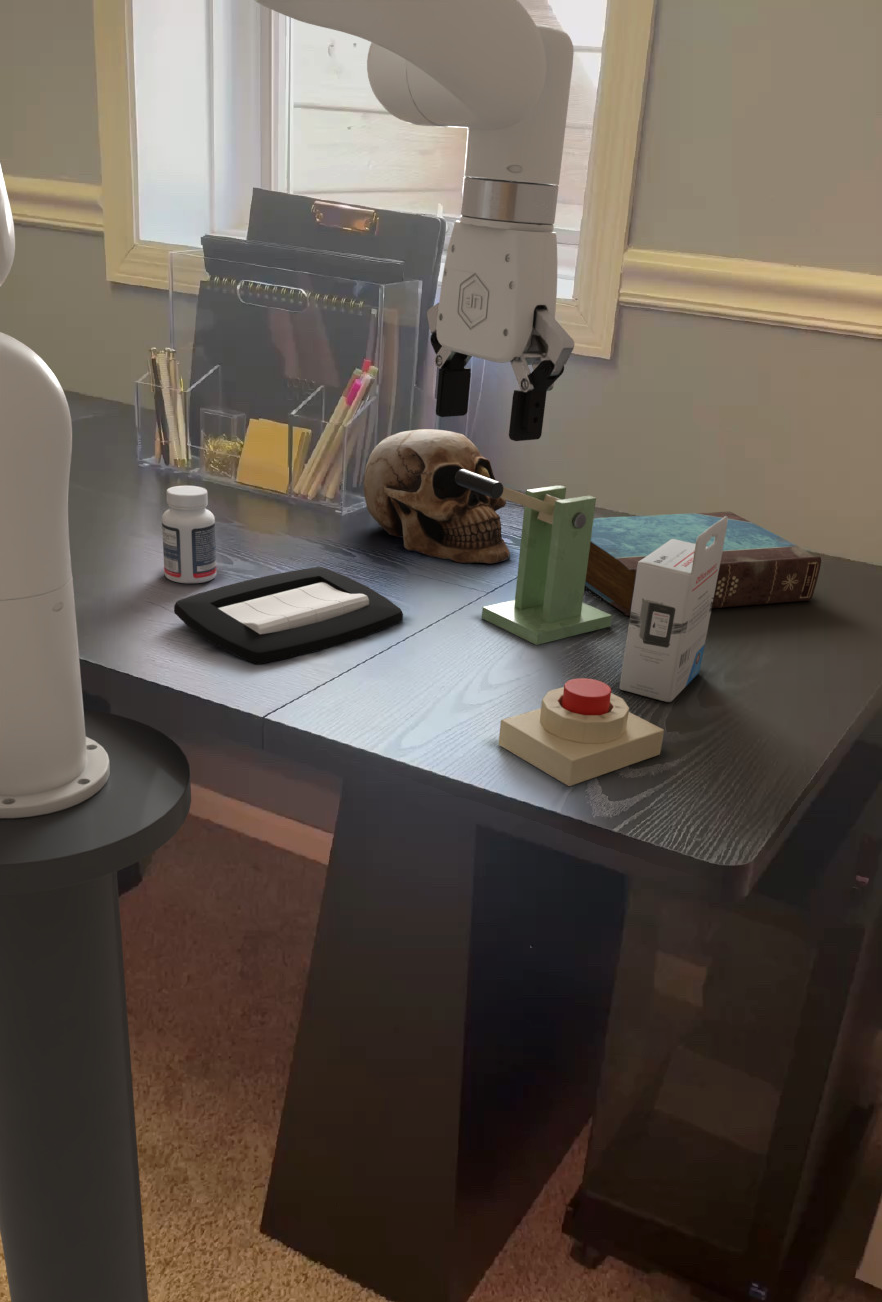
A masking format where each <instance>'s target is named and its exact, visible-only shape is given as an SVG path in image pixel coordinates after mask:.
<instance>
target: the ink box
mask: <svg viewBox="0 0 882 1302" xmlns="http://www.w3.org/2000/svg"><path fill="white" fill-rule="evenodd" d="M727 522H728V517H727V516H725V517H724V518H723V519H721V520H720V521H718V522H717V523H715V524H714V525H712V526H711V527H709V528H708V529H707V530H706V531H704V532H703V533H702V534H700V535H699V536H698V537H697V540H696V544H693V543H689V542H684V541H680V540H676V539H671V540H669V541H668V542H667V543H665V544H664V545H662V546H661V547H659V548H658V549H656V550H655V551H654V552H652V553H651V554H649V555H648V556H646V557H645V558H643V559H642V560H640V561H639V562H638V566H637V573H636V580H635V587H634V593H633V600H632V606H631V613H630V615H629V620H628V628H627V635H626V640H625V647H624V653H623V661H622V667H621V674H620V681H619V690H621V691H624V692H628V693H632V694H636V695H639V696H641V697H647V698H650V699H654V700H657V701H661V702H665V703H672V701H674V700H675V699H676V697H677V696H679V694H681V692H682V691H683V690H684V689H685V688H686V687H687V686H688V685H689V684H690V683H691V682H692V681H693V679H695V678H696V676H698V674H699V673H700V671H701V667H702V666H701V665H702V660H703V656H704V651H705V645H706V641H707V635H708V630H709V624H710V618H711V614H712V609H713V608H712V603H713V598H714V593H715V588H716V583H717V577H718V572H719V567H720V562H721V557H722V550H723V545H724V540H725V535H726V529H727ZM711 536H712V537H715V540H714V542H713V544H712V545H710V546H709V547H706V544H707V542H708V541H710V539H711ZM711 608H712V609H711Z"/></svg>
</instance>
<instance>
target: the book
mask: <svg viewBox="0 0 882 1302" xmlns="http://www.w3.org/2000/svg"><path fill="white" fill-rule="evenodd" d="M725 516H727V517H728V522H727V529H726V535H725V540H724V545H723V550H722V557H721V562H720V567H719V572H718V577H717V583H716V588H715V593H714V598H713V603H712V608H711V610H712V609H723V608H734V607H735V608H736V607H744V606H746V607H747V606H758V605H770V604H781V603H782V604H784V603H795V602H805V601H811V600H812V598H813V596H814V593H815V589H816V586H817V582H818V578H819V574H820V570H821V565H822V557H821V556H819V555H817V556H814V555H812V554H811V553H810V552H808V551H806V550H805V549H804V548H802V547H800V546H799V545H796V544H795V543H793V542H791V541H790V540H787V539H785V538H784V537H781V536H780V535H778V534H776V533H774V532H773V531H770V530H768V529H766V528H764V527H762V526H760V525H758V524H756V523H754V522H752V521H750V520H748V519H746V518H744V517H742V516H740V515H738V514H737V513H734V512H731V511H712V512H711V511H710V512H689V513H673V514H671V513H670V514H652V515H651V514H650V515H632V516H609V517H594V519H593V527H592V534H591V542H590V550H589V557H588V565H587V573H586V580H585V587H586V588H587V589H588V590H589V591H591V592H592V593H594V594H596V595H597V596H598V597H600V598H601V599H603V600H604V601H605V602H607V603H608V604H610V605H611V606H613V607H615V608H616V609H618V610H619V611H621V612H622V613H623V614H624V615H625V616H630V613H631V606H632V600H633V593H634V587H635V580H636V573H637V566H638V562H639V561H640V560H642V559H643V558H645V557H646V556H648V555H649V554H651V553H652V552H654V551H655V550H656V549H658V548H659V547H661V546H662V545H664V544H665V543H667V542H668V541H669V540H671V539H676V540H680V541H684V542H689V543H693V544H696V540H697V537H698V536H699V535H700V534H702V533H703V532H704V531H706V530H707V529H708V528H709V527H711V526H712V525H714V524H715V523H717V522H718V521H720V520H721V519H723V518H724V517H725ZM714 540H715V537H712V536H711V539H710V541H708V542H707V544H706V547H709V546H710V545H712V544H713V542H714Z"/></svg>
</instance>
